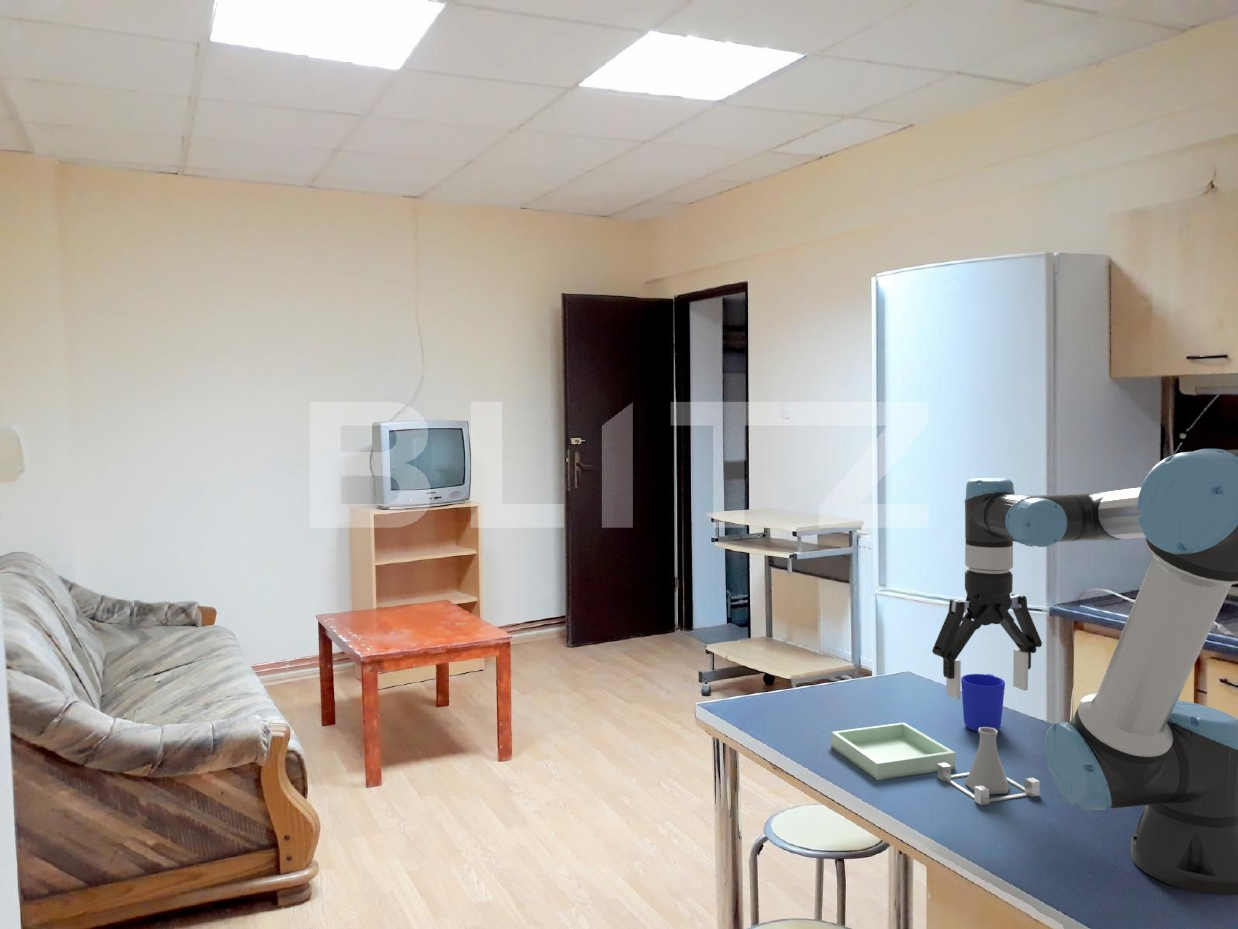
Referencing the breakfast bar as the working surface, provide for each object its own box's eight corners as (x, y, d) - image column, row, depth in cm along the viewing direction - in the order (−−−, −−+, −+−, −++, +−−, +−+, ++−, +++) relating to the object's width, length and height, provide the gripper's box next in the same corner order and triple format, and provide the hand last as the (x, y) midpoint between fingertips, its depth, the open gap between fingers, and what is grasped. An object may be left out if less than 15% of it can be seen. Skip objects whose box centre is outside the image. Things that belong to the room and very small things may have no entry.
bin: (955, 768, 165) (955, 752, 165) (877, 780, 160) (877, 763, 160) (903, 737, 180) (904, 722, 180) (831, 747, 176) (831, 732, 175)
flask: (1014, 797, 153) (1015, 739, 152) (968, 794, 154) (969, 736, 154) (1005, 779, 160) (1005, 724, 159) (961, 776, 162) (962, 721, 161)
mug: (1010, 720, 189) (1011, 672, 188) (1000, 739, 179) (1000, 689, 178) (969, 713, 193) (969, 666, 192) (956, 731, 183) (957, 682, 182)
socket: (1039, 795, 153) (1039, 781, 153) (980, 805, 150) (980, 790, 150) (992, 769, 164) (993, 755, 164) (937, 777, 161) (937, 763, 161)
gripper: (1033, 561, 162) (1032, 678, 163) (911, 570, 155) (911, 693, 156) (1065, 568, 155) (1063, 691, 156) (939, 578, 148) (938, 707, 149)
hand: (987, 692), depth 156 cm, fingers open, 13 cm apart
